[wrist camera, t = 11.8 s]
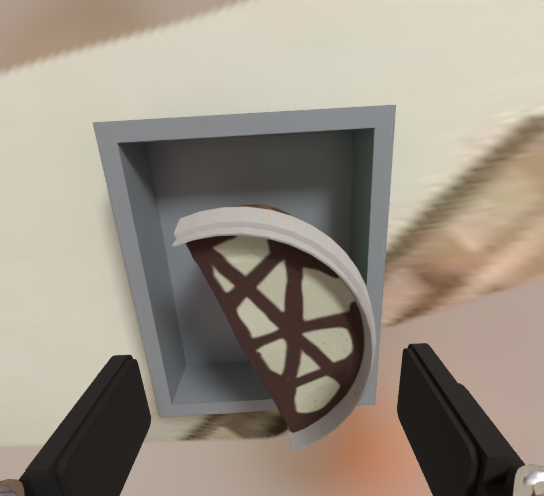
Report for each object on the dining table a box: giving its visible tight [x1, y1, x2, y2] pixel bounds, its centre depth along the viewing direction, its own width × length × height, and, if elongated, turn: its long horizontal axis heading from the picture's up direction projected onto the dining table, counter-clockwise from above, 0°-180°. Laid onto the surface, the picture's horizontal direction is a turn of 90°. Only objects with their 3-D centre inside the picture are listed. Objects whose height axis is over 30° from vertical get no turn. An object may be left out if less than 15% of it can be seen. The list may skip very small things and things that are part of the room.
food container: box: [172, 204, 376, 453], centre depth 17 cm, size 12×6×10 cm, turn 24°
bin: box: [93, 105, 396, 417], centre depth 21 cm, size 15×19×5 cm
